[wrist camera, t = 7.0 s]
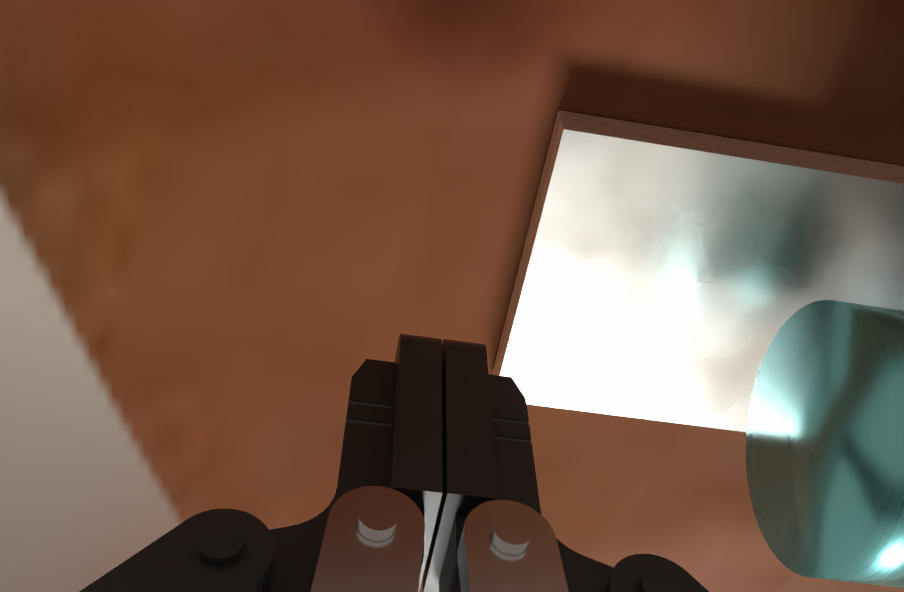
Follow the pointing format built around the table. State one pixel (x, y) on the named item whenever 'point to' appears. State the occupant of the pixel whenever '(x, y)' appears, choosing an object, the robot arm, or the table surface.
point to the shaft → (832, 443)
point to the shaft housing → (686, 265)
